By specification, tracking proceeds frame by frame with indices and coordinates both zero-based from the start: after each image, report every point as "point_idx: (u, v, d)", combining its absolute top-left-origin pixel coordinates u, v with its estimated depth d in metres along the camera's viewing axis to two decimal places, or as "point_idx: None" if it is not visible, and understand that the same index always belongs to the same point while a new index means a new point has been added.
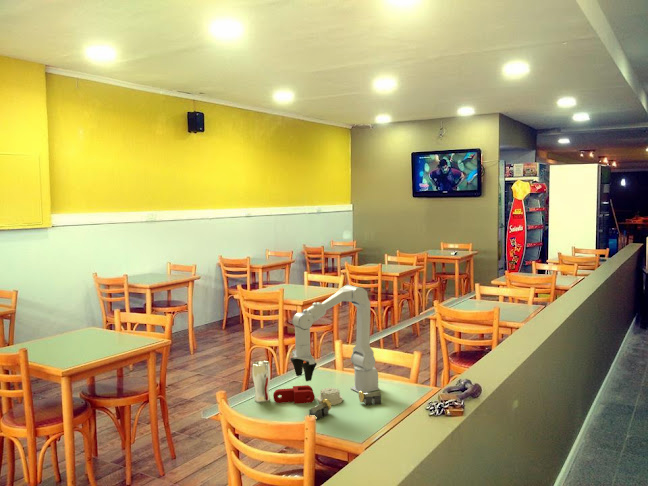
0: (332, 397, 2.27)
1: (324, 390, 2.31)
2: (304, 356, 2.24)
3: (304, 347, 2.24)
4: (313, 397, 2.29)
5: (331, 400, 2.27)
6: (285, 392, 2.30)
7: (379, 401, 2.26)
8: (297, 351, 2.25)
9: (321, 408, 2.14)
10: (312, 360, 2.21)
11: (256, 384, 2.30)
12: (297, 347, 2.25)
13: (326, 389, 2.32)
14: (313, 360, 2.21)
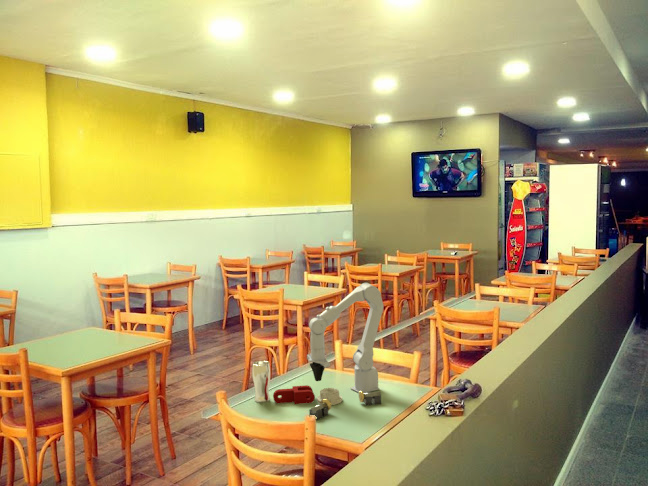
0: (332, 397, 2.27)
1: (324, 390, 2.31)
2: (319, 359, 2.35)
3: (319, 351, 2.34)
4: (313, 397, 2.29)
5: (331, 400, 2.27)
6: (285, 392, 2.29)
7: (379, 401, 2.26)
8: (312, 355, 2.35)
9: (321, 408, 2.14)
10: (327, 363, 2.31)
11: (256, 384, 2.30)
12: (312, 351, 2.35)
13: (326, 389, 2.32)
14: (328, 363, 2.32)
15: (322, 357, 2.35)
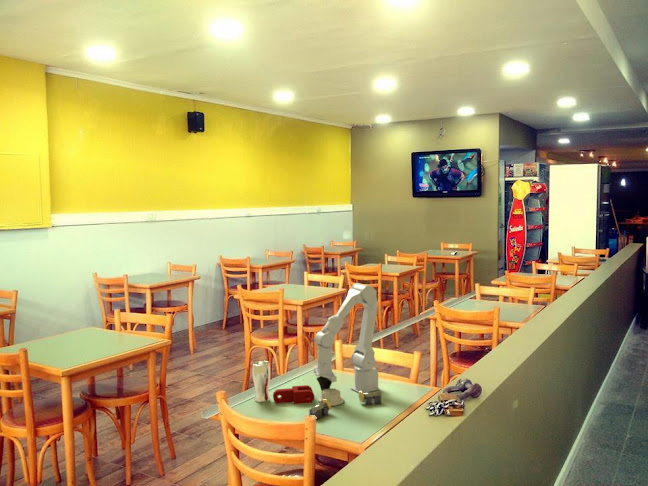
0: (333, 398, 2.26)
1: (325, 391, 2.29)
2: (326, 374, 2.30)
3: (326, 365, 2.30)
4: (313, 397, 2.29)
5: (332, 401, 2.25)
6: (285, 392, 2.29)
7: (379, 401, 2.26)
8: (319, 369, 2.31)
9: (321, 408, 2.14)
10: (334, 378, 2.27)
11: (256, 384, 2.30)
12: (319, 365, 2.31)
13: (327, 390, 2.30)
14: (335, 378, 2.27)
15: (329, 371, 2.31)
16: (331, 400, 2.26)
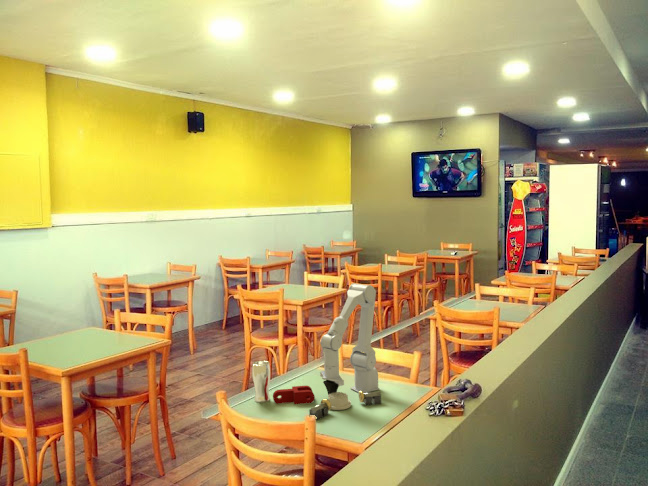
0: (340, 402, 2.21)
1: (332, 395, 2.25)
2: (333, 377, 2.26)
3: (333, 368, 2.26)
4: (313, 397, 2.29)
5: (339, 405, 2.21)
6: (285, 392, 2.29)
7: (379, 401, 2.26)
8: (326, 372, 2.27)
9: (321, 408, 2.14)
10: (341, 381, 2.23)
11: (256, 384, 2.30)
12: (326, 368, 2.27)
13: (334, 393, 2.26)
14: (342, 381, 2.23)
15: (336, 374, 2.27)
16: (338, 404, 2.21)
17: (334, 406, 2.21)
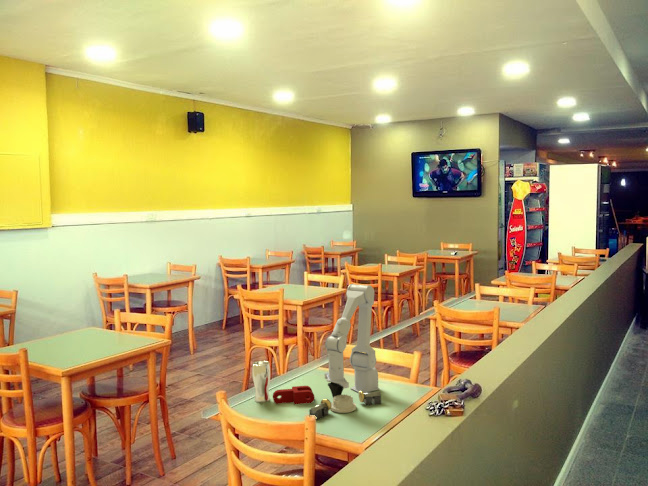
0: (345, 405, 2.18)
1: (337, 397, 2.22)
2: (338, 379, 2.23)
3: (338, 370, 2.23)
4: (313, 397, 2.29)
5: (344, 408, 2.18)
6: (285, 393, 2.29)
7: (379, 401, 2.26)
8: (331, 374, 2.24)
9: (321, 408, 2.14)
10: (346, 384, 2.20)
11: (256, 384, 2.30)
12: (331, 370, 2.24)
13: (339, 396, 2.23)
14: (347, 384, 2.20)
15: (341, 377, 2.24)
16: (343, 407, 2.18)
17: (339, 409, 2.18)
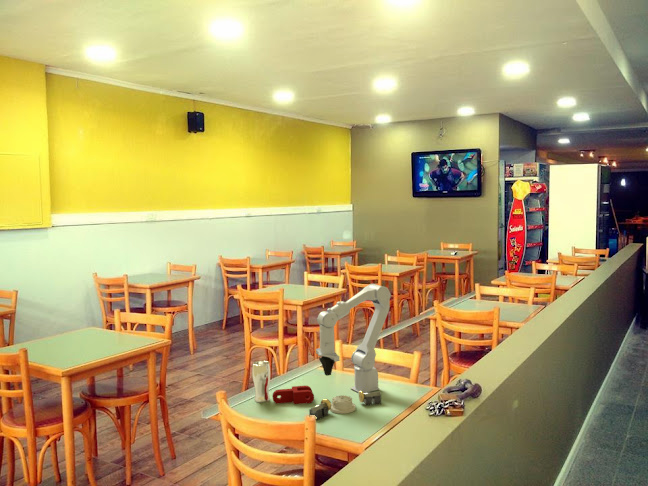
0: (345, 405, 2.18)
1: (336, 398, 2.22)
2: (329, 353, 2.31)
3: (329, 345, 2.31)
4: (312, 397, 2.29)
5: (344, 408, 2.18)
6: (284, 392, 2.29)
7: (379, 401, 2.26)
8: (322, 349, 2.32)
9: (321, 408, 2.14)
10: (337, 357, 2.28)
11: (256, 384, 2.30)
12: (322, 345, 2.32)
13: (338, 397, 2.23)
14: (338, 357, 2.28)
15: (332, 351, 2.32)
16: (343, 408, 2.18)
17: (338, 410, 2.18)
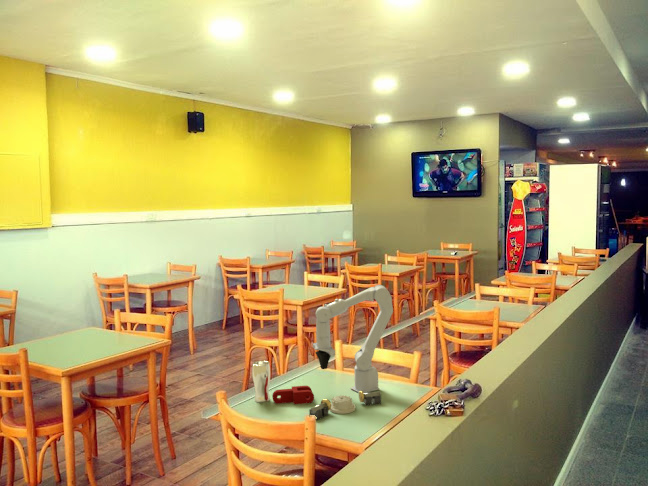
0: (345, 406, 2.18)
1: (336, 398, 2.21)
2: (325, 348, 2.38)
3: (325, 339, 2.38)
4: (312, 397, 2.29)
5: (343, 409, 2.18)
6: (284, 392, 2.29)
7: (379, 401, 2.26)
8: (318, 343, 2.39)
9: (321, 408, 2.14)
10: (332, 351, 2.35)
11: (256, 384, 2.30)
12: (318, 339, 2.39)
13: (338, 397, 2.23)
14: (333, 351, 2.35)
15: (328, 345, 2.39)
16: (342, 408, 2.18)
17: (338, 410, 2.18)
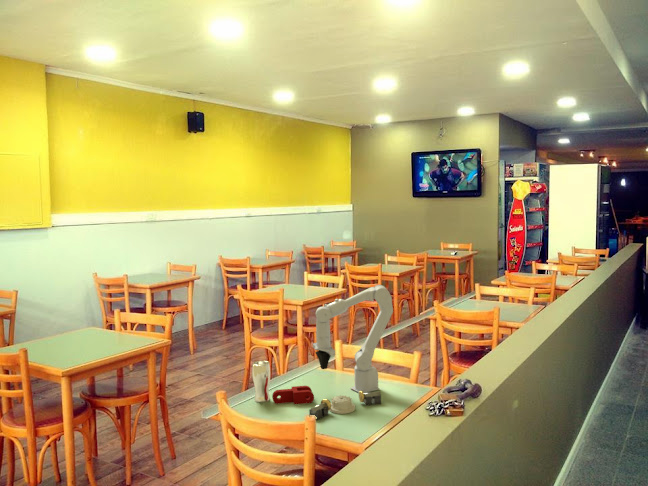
0: (344, 406, 2.18)
1: (336, 398, 2.21)
2: (325, 348, 2.38)
3: (325, 339, 2.38)
4: (312, 397, 2.29)
5: (343, 409, 2.18)
6: (284, 393, 2.29)
7: (379, 401, 2.26)
8: (318, 343, 2.39)
9: (321, 408, 2.14)
10: (332, 351, 2.35)
11: (256, 384, 2.30)
12: (318, 339, 2.39)
13: (337, 397, 2.22)
14: (333, 351, 2.35)
15: (328, 345, 2.39)
16: (342, 408, 2.18)
17: (338, 410, 2.17)
